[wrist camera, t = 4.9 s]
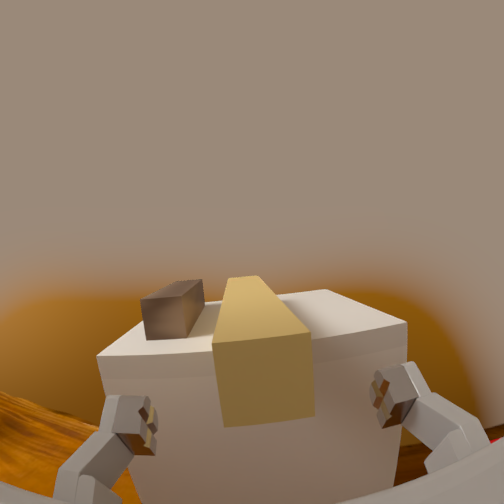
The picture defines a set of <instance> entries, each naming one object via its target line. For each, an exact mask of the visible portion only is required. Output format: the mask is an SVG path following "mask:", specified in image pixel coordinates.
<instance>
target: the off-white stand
mask: <svg viewBox="0 0 504 504" xmlns="http://www.w3.org/2000/svg"><path fill="white" fill-rule="evenodd" d="M276 296H277V297H278V298H279V299H280V300H281V301H282V302H283V303H284V304H285V305H286V306H287V307H288V308H289V309H290V310H291V312H292V313H293V314H294V315H295V316H296V317H297V318H298V319H299V320H300V321H301V322H302V323H303V324H304V325H305V326H306V327H307V328H308V329H309V331H310V332H311V341H312V358H313V377H314V399H315V416H314V417H308V418H302V419H296V420H289V421H282V422H275V423H267V424H259V425H249V426H239V427H226V428H224V424H223V418H222V412H221V406H220V399H219V393H218V386H217V380H216V373H215V366H214V359H213V351H212V344H211V343H212V339H213V335H214V331H215V328H216V324H217V320H218V316H219V312H220V308H221V305H222V301H216V302H206V303H205V307H204V309H203V310H202V312H201V314H200V316H199V317H198V319H197V321H196V323H195V325H194V326H193V328H192V330H191V332H190V334H189V335H188V337H187V338H184V339H168V340H150V341H146V336H145V330H144V324H143V321H142V322H141V323H139V324H138V325H137V326H135V327H134V328H132V329H131V330H130V331H129V332H127V333H126V334H125V335H123V336H122V337H121V338H119V339H118V340H117V341H115V342H114V343H113V344H111V345H110V346H109V347H107V348H106V349H105V350H103V351H102V352H101V353H99V354H98V355H97V361H98V365H99V370H100V375H101V379H102V383H103V387H104V391H105V395H106V398H107V396H108V395H125V396H148V397H149V399H150V400H151V403H150V405H151V406H152V407H154V408H155V410H156V412H157V416H158V431H157V432H156V433H155V434H154V435H153V436H154V437H155V439H156V440H157V445H156V456H141V455H134V458H133V459H132V461H131V462H130V463H129V465H128V469H129V472H130V475H131V477H132V480H133V482H134V485H135V487H136V490H137V492H138V495H139V497H140V500H141V502H142V504H334V503H339V502H343V501H347V500H351V499H355V498H359V497H362V496H366V495H369V494H373V493H376V492H380V491H383V490H386V489H389V488H392V487H393V484H394V479H395V473H396V467H397V461H398V454H399V447H400V439H401V430H402V425H401V424H399V425H395V426H391V427H388V428H384V429H381V426H380V424H379V421H378V418H377V416H376V414H377V412H378V409H377V408H375V407H374V406H373V405H372V403H371V400H370V395H369V388H370V385H371V383H372V382H373V381H374V380H375V378H374V374H375V371H377V370H379V369H383V368H387V367H391V366H395V365H398V364H403V363H407V322H406V321H403V320H401V319H398V318H396V317H393V316H390V315H388V314H386V313H383V312H381V311H378V310H376V309H374V308H371V307H369V306H366V305H364V304H361V303H359V302H356V301H354V300H351V299H349V298H347V297H344V296H342V295H339V294H337V293H334V292H332V291H329V290H327V289H323V290H315V291H308V292H300V293H291V294H282V295H276Z"/></svg>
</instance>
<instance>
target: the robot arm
mask: <svg viewBox="0 0 504 504" xmlns="http://www.w3.org/2000/svg"><path fill="white" fill-rule="evenodd" d="M374 378H375V380H374V381H373V382H372V383H371V385H370V388H369V395H370V400H371V403H372V405H373V406H374V407H375V408H377V409H378V412H377V414H376V416H377V418H378V421H379V424H380V426H381V429H384V428H388V427H391V426H395V425H399V424H401V425H402V426H403V427H405V428H406V429H407V430H408V431H409V432H411V433H412V434H413V435H414V436H415V437H416V438H418V439H419V440H420V441H421V442H423V443H424V444H425V445H426V446H427V447H429V448H430V449H431V450H432V451H433V452H432V453H431V454H430V455H429V456H428V457H427V458H426V459H425V461H424V464H425V466H426V469H427V472H428V474H427V475H425V476H422V477H420V478H417V479H415V480H412V481H409V482H406V483H404V484H401V485H398V486H395V487H392V488H389V489H386V490H383V491H380V492H376V493H373V494H369V495H366V496H362V497H359V498H355V499H351V500H347V501H343V502H339V503H334V504H504V437H502V438H500V439H499V440H497V441H495V442H493V443H492V444H491V443H490V441H489V439H488V437H487V435H486V433H485V431H484V429H483V427H482V425H481V423H480V421H479V420H478V418H476V417H474V416H472V415H471V414H469V413H468V412H466V411H464V410H463V409H461V408H460V407H458V406H456V405H455V404H452V403H451V402H450V401H448V400H446V399H445V398H443V397H441V396H440V395H438V394H437V393H431V391H430V389H429V387H428V386H427V384H426V382H425V380H424V378H423V376H422V374H421V373H420V371H419V369H418V367H417V365H416V364H415V363H414V362H413V361H411V362H407V363H403V364H398V365H395V366H391V367H387V368H383V369H379V370H377V371H375V374H374ZM150 403H151V400H150V399H149V397H148V396H125V395H108V396H107V398H106V400H105V404H104V409H103V413H102V418H101V423H100V427H99V431H98V432H94V433H93V434H92V435H91V436H90V437H89V438H88V439H87V440H86V441H85V442H84V443H83V444H82V445H81V447H80V448H79V449H78V450H77V451H76V452H75V453H74V454H73V455H72V456H71V457H70V458H69V459H68V460H67V461H66V462H65V463H64V464H63V465H62V466H61V467H60V468H59V470H58V474H57V479H56V484H55V489H54V494H53V498H49V497H46V496H42V495H39V494H36V493H33V492H30V491H26V490H23V489H21V488H18V487H15V486H12V485H9V484H7V483H4V482H2V481H0V504H122V499H121V498H120V497H119V496H118V495H117V494H115V493H114V492H113V491H111V490H110V489H111V488H112V487H113V485H114V484H115V483H116V481H117V480H118V478H119V477H120V476H121V474H122V473H123V472H124V470H125V469H126V467H127V466H128V465H129V463H130V462H131V461H132V459H133V458H134V455H141V456H156V445H157V440H156V439H155V437H154V436H153V435H154V434H155V433H156V432H157V431H158V416H157V412H156V410H155V408H154V407H152V406H151V405H150Z"/></svg>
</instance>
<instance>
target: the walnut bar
mask: <svg viewBox="0 0 504 504" xmlns="http://www.w3.org/2000/svg"><path fill="white" fill-rule="evenodd" d="M140 302H141V310H142V317H143V324H144V330H145V336H146V341H150V340H168V339H184V338H187V337H188V335H189V334H190V332H191V330H192V328H193V326H194V325H195V323H196V321H197V319H198V317H199V316H200V314H201V312H202V310H203V309H204V307H205V301H204V292H203V283H202V279H199V280H187V281H177V282H174V283H172V284H170V285H168V286H166V287H164V288H162V289H160V290H158V291H156V292H154V293H152V294H150V295H148V296H146V297H144V298H142V299H140Z"/></svg>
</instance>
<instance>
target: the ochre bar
mask: <svg viewBox="0 0 504 504" xmlns="http://www.w3.org/2000/svg"><path fill="white" fill-rule="evenodd" d="M211 344H212V351H213V359H214V366H215V373H216V380H217V386H218V393H219V399H220V406H221V412H222V418H223V424H224V428H226V427H239V426H249V425H259V424H267V423H275V422H282V421H289V420H296V419H302V418H308V417H314V416H315V399H314V377H313V358H312V341H311V332H310V331H309V329H308V328H307V327H306V326H305V325H304V324H303V323H302V322H301V321H300V320H299V319H298V318H297V317H296V316H295V315H294V314H293V313H292V312H291V310H290V309H289V308H288V307H287V306H286V305H285V304H284V303H283V302H282V301H281V300H280V299H279V298H278V297H277V296H276V295H275V294H274V292H273V291H272V290H271V289H270V288H269V287H268V286H267V285H266V284H265V283H264V282H263V281H262V280H261V279H260V278H259V276H258V275H257V276H247V277H237V278H229V279H228V282H227V286H226V289H225V293H224V297H223V301H222V305H221V308H220V312H219V316H218V320H217V324H216V328H215V331H214V335H213V339H212V343H211Z"/></svg>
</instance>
